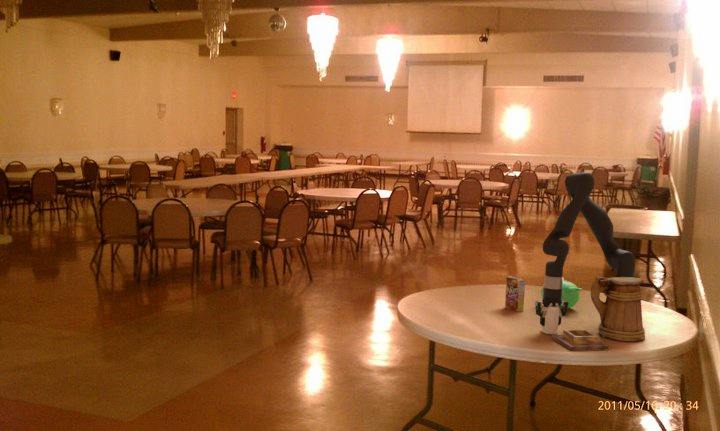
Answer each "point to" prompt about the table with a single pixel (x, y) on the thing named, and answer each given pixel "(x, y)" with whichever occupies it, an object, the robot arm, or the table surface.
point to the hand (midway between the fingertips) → (550, 325)
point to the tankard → (619, 308)
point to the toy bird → (568, 293)
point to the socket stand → (579, 340)
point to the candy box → (515, 293)
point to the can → (551, 320)
